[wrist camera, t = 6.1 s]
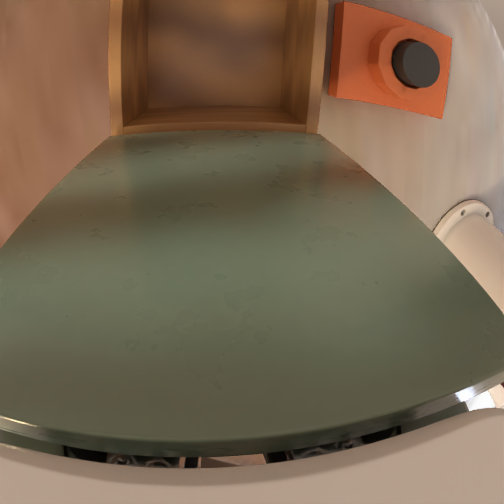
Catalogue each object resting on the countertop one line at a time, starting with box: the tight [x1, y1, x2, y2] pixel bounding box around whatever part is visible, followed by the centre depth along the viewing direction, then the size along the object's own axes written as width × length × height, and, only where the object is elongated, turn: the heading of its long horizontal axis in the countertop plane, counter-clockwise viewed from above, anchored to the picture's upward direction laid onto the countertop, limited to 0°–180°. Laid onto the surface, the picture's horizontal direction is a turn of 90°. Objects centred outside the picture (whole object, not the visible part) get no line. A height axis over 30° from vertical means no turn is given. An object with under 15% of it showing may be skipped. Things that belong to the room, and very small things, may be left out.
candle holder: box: [488, 384, 504, 408], centre depth 66 cm, size 10×10×12 cm
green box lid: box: [0, 130, 504, 457], centre depth 10 cm, size 16×13×1 cm
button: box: [392, 42, 440, 88], centre depth 19 cm, size 4×4×2 cm
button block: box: [328, 1, 452, 119], centre depth 21 cm, size 12×9×4 cm
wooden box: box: [109, 0, 329, 136], centre depth 17 cm, size 16×13×9 cm
